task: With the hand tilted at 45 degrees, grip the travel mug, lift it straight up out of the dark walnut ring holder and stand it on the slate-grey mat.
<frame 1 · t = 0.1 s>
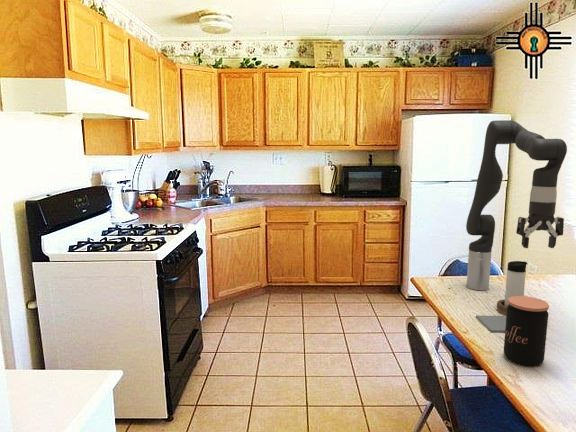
hand: (538, 247, 145), 29 cm above the table, tool pointing down, fingers open, 8 cm apart
ring holder: (513, 312, 165), on the table
travel mug: (513, 312, 165), resting in ring holder
coffee jar: (522, 359, 129), on the table
slate mat: (501, 324, 153), on the table
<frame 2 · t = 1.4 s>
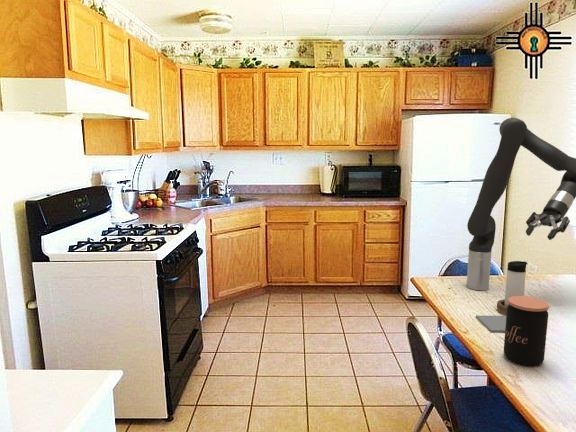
hand: (538, 236, 166), 28 cm above the table, tool tilted 45°, fingers open, 8 cm apart
nothing on the table moved.
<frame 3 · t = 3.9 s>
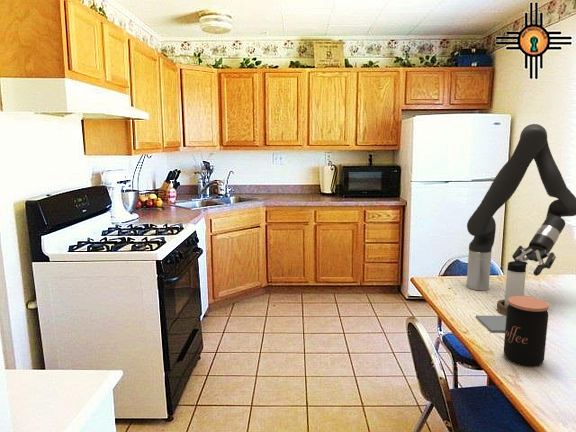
hand: (524, 271, 164), 15 cm above the table, tool tilted 45°, fingers open, 8 cm apart
nothing on the table moved.
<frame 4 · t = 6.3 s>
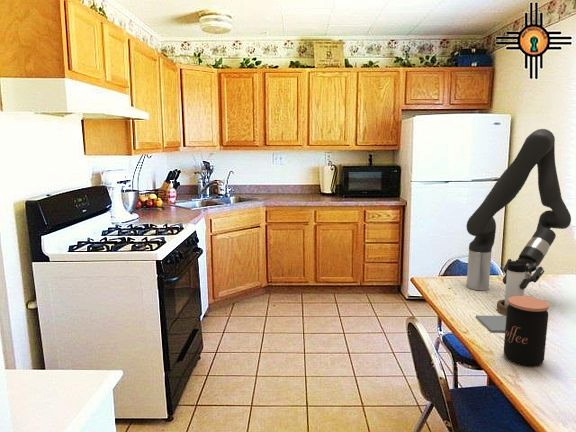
hand: (512, 285, 162), 11 cm above the table, tool tilted 45°, fingers closed on travel mug, 6 cm apart
travel mug: (513, 312, 165), resting in ring holder, touching gripper
everything else where it was.
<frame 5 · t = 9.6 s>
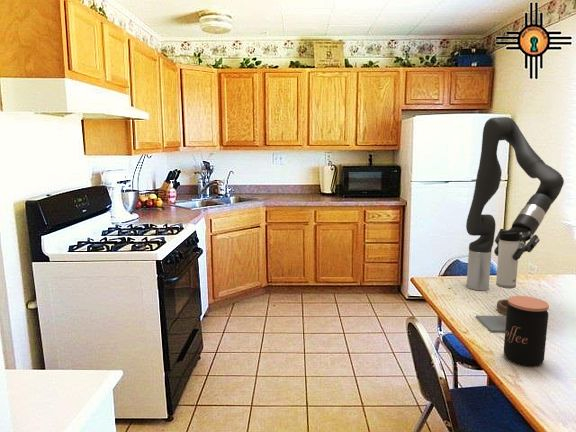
hand: (505, 256, 149), 25 cm above the table, tool tilted 45°, fingers closed on travel mug, 6 cm apart
travel mug: (506, 286, 151), point 14 cm above the table, touching gripper
everything else where it was.
when the fingers open (13 cm above the table, at t = 13.0 s): travel mug stays where it is, resting on slate mat.
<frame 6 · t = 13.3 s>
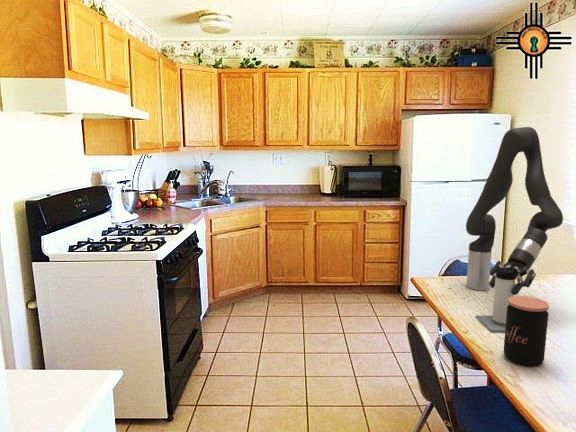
hand: (501, 290, 151), 13 cm above the table, tool tilted 45°, fingers open, 8 cm apart
travel mug: (502, 323, 153), point 1 cm above the table, touching slate mat
everything else where it was.
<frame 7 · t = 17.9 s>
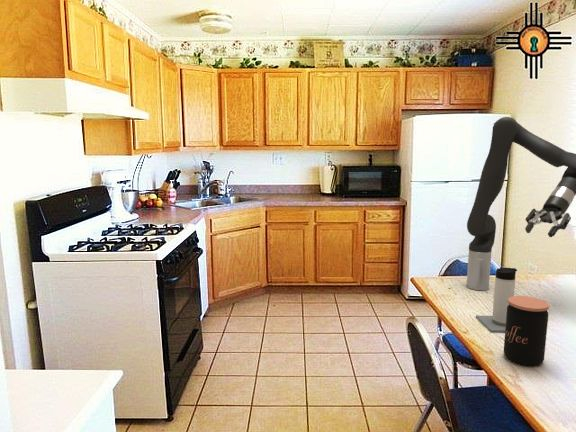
hand: (538, 233, 160), 31 cm above the table, tool tilted 45°, fingers open, 8 cm apart
nothing on the table moved.
at the end: travel mug inside the target area on the slate mat (0.3 cm from its centre), point 0.6 cm above the slate mat's base; travel mug tilted 0°; the gripper is holding nothing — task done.
